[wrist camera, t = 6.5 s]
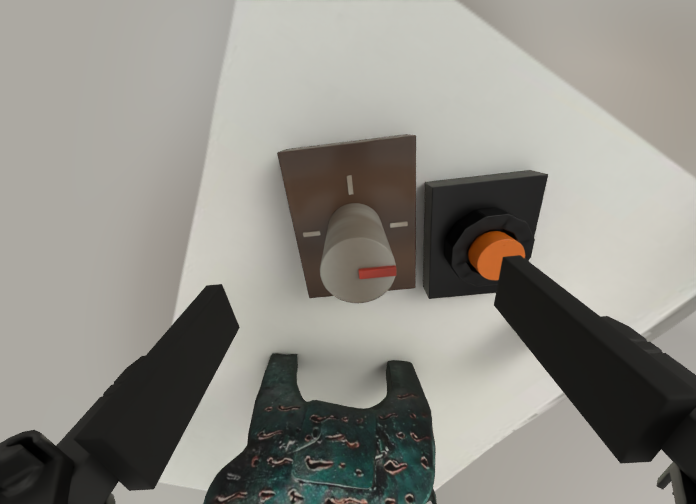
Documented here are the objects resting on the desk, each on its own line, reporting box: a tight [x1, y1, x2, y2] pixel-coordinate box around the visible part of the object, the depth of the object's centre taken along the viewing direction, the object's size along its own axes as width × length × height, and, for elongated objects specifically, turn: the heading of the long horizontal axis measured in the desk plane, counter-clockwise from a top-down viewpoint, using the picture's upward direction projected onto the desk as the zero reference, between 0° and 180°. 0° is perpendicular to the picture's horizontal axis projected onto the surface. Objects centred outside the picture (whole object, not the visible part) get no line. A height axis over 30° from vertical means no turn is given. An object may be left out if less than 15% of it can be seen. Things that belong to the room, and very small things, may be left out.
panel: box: [277, 134, 416, 298], centre depth 22 cm, size 13×10×3 cm
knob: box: [320, 203, 396, 303], centre depth 18 cm, size 4×4×7 cm
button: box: [468, 231, 525, 280], centre depth 20 cm, size 4×4×2 cm
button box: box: [423, 170, 548, 299], centre depth 23 cm, size 11×9×4 cm
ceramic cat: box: [203, 354, 437, 504], centre depth 23 cm, size 20×6×20 cm, turn 85°
